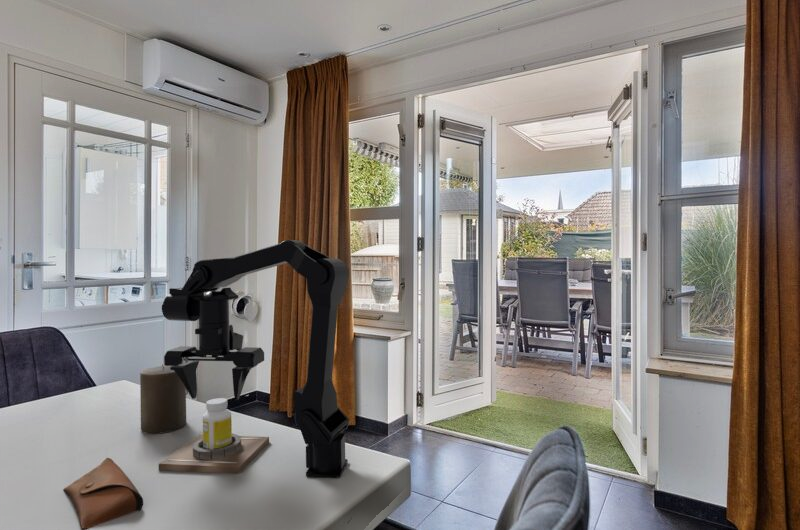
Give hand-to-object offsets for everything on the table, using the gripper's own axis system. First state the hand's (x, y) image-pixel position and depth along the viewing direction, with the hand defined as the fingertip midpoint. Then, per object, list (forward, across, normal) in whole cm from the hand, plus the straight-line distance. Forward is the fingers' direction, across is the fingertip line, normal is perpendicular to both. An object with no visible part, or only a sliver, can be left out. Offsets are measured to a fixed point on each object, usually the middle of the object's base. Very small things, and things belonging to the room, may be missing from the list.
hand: (215, 398), depth 92 cm
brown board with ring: (+12, 0, 0) cm, 12 cm away
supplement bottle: (+10, 0, 0) cm, 10 cm away
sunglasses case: (+12, +11, +17) cm, 24 cm away
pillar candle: (+12, +21, -14) cm, 28 cm away
